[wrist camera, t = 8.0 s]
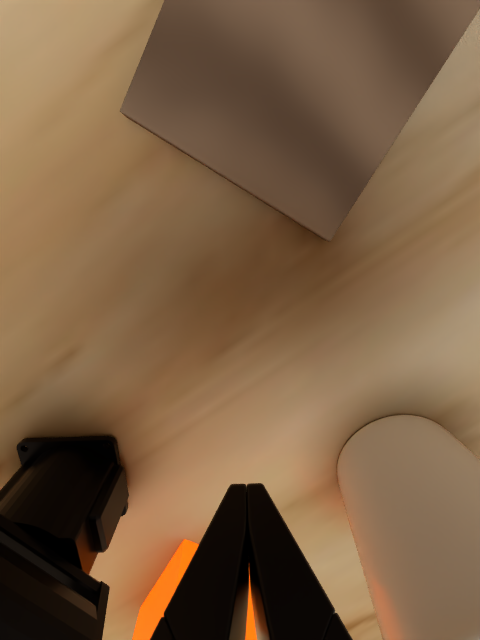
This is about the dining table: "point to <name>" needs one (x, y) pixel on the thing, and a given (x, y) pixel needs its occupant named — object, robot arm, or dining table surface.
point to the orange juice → (165, 590)
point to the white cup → (415, 526)
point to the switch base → (292, 91)
